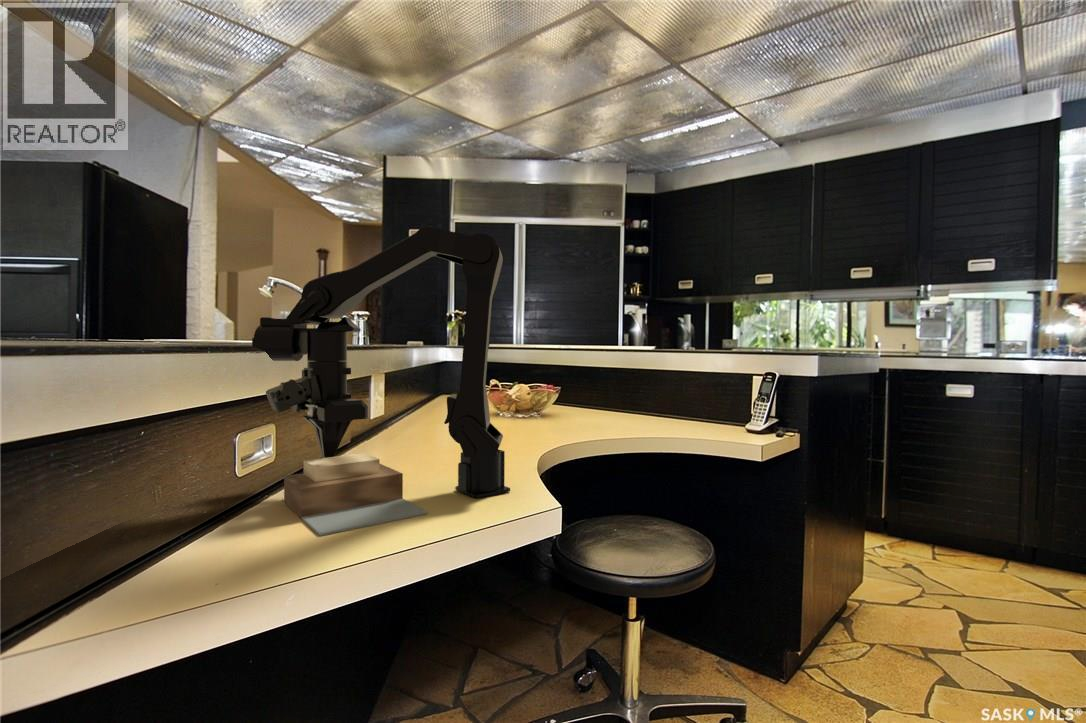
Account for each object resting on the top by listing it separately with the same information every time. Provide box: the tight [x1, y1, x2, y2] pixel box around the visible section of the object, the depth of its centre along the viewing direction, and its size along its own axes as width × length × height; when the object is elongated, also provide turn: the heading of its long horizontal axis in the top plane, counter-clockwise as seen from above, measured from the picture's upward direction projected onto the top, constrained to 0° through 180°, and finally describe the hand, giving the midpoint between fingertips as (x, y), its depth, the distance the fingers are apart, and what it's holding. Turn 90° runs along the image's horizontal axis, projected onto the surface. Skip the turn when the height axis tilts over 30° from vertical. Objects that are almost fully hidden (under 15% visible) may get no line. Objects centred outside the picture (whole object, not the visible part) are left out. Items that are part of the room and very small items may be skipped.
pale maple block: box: [303, 452, 381, 482], centre depth 77 cm, size 9×6×2 cm, turn 129°
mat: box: [300, 498, 428, 537], centre depth 70 cm, size 14×8×1 cm, turn 129°
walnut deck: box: [283, 463, 404, 519], centre depth 77 cm, size 14×9×4 cm, turn 129°
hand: (327, 460), depth 82 cm, fingers closed
